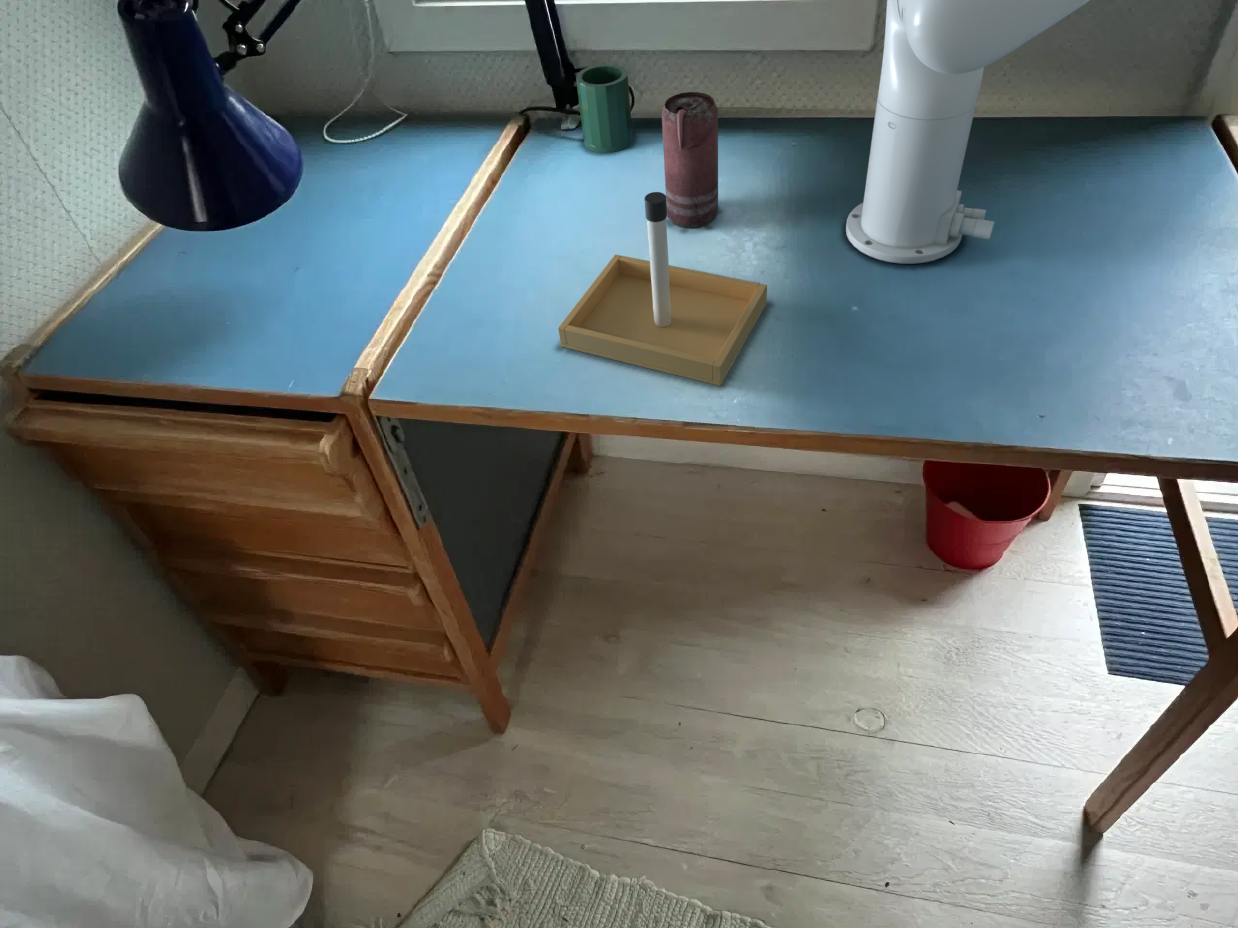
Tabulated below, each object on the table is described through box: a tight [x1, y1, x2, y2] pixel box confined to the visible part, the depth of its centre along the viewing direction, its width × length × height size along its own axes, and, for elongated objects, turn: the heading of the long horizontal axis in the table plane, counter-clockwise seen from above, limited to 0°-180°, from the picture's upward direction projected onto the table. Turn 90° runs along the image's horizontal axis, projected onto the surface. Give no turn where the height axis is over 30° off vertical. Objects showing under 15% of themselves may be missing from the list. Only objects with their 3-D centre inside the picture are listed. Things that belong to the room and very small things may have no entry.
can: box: [661, 91, 719, 230], centre depth 100 cm, size 6×6×14 cm
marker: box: [644, 191, 671, 327], centre depth 86 cm, size 2×2×14 cm
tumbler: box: [575, 63, 633, 154], centre depth 116 cm, size 7×7×9 cm
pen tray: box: [557, 253, 768, 387], centre depth 90 cm, size 18×14×2 cm
